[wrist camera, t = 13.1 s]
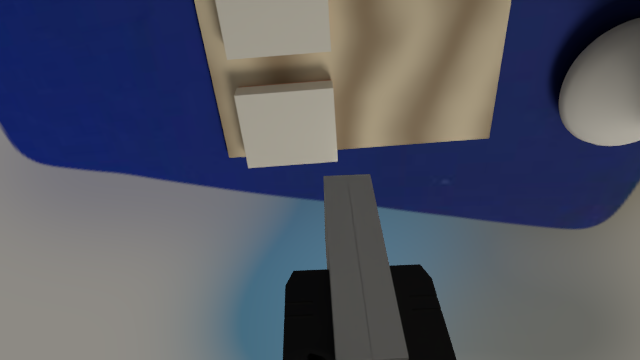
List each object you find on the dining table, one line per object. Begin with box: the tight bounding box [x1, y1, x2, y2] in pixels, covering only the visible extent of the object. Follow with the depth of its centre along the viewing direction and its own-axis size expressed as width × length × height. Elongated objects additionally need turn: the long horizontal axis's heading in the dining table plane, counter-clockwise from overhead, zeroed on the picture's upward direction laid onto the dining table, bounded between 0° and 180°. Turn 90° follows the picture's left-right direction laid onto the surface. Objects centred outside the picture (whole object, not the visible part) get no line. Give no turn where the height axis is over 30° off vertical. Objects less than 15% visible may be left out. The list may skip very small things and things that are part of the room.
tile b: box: [234, 80, 338, 168], centre depth 39 cm, size 2×7×8 cm
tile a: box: [215, 0, 331, 60], centre depth 34 cm, size 2×7×8 cm
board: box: [194, 0, 511, 158], centre depth 37 cm, size 24×17×1 cm
